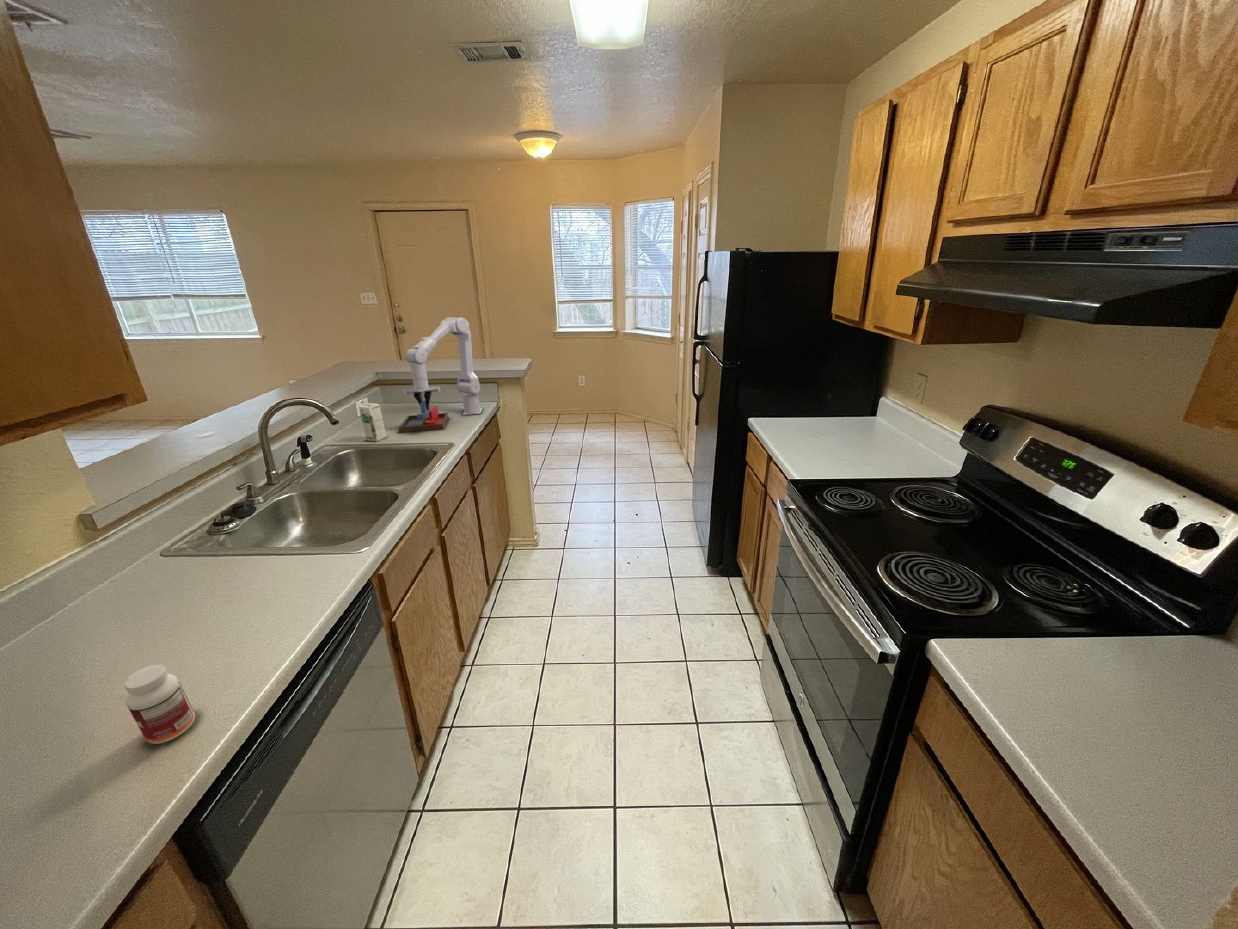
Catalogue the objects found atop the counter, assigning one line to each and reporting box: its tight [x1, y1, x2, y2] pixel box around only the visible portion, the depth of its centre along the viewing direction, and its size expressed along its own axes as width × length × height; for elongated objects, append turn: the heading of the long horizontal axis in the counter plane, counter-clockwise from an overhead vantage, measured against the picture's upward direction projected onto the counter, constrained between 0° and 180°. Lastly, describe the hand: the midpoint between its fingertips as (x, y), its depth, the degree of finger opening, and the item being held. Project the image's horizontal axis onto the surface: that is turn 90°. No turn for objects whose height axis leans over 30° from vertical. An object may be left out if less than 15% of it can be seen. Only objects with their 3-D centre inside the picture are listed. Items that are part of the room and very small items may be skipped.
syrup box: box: [358, 402, 387, 442], centre depth 206 cm, size 6×6×14 cm
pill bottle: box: [123, 664, 196, 745], centre depth 78 cm, size 6×6×11 cm
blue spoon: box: [416, 399, 430, 419], centre depth 214 cm, size 13×4×6 cm, turn 10°
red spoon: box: [425, 405, 439, 425], centre depth 225 cm, size 13×4×6 cm, turn 3°
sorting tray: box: [398, 412, 449, 434], centre depth 224 cm, size 17×18×2 cm
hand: (425, 409), depth 217 cm, fingers closed on blue spoon
